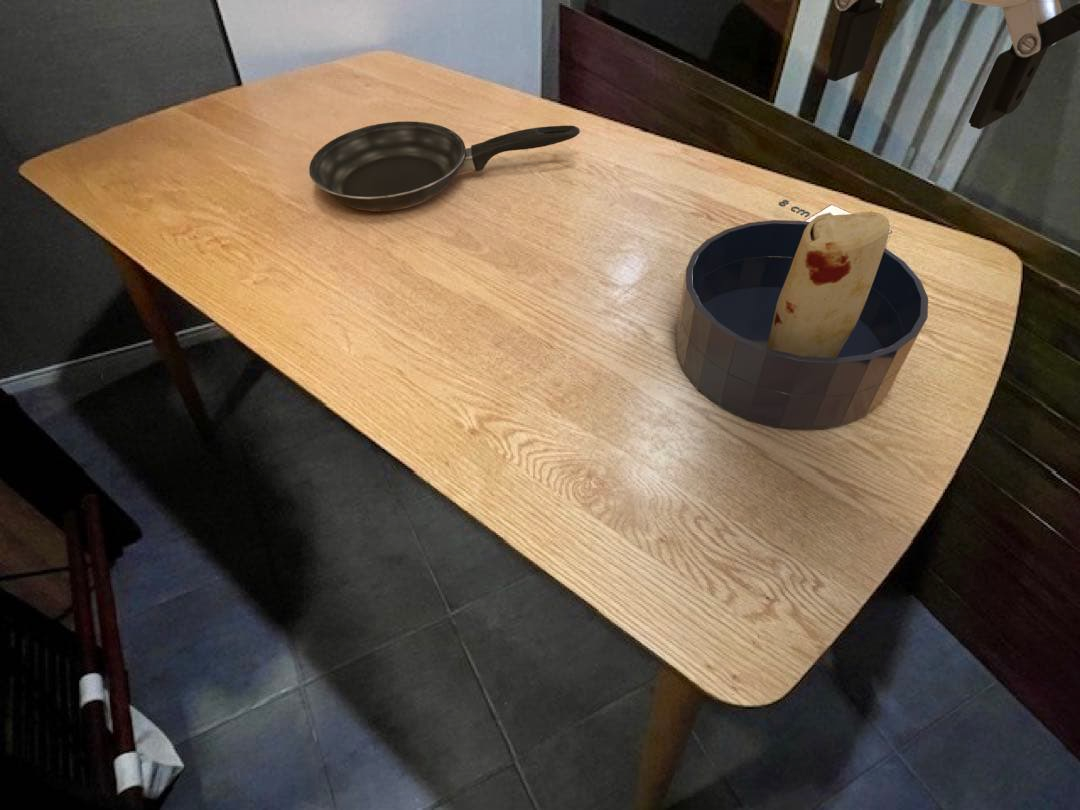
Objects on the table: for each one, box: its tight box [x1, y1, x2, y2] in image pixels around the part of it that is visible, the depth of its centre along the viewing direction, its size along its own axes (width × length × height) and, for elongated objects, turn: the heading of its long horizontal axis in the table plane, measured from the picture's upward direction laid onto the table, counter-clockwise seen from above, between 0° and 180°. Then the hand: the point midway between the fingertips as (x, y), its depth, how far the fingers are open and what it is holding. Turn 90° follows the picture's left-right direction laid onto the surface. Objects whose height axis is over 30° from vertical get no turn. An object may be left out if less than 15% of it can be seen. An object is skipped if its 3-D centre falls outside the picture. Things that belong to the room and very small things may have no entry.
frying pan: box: [308, 120, 581, 212], centre depth 104 cm, size 44×25×7 cm, turn 94°
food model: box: [767, 211, 891, 358], centre depth 64 cm, size 10×7×20 cm
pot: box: [675, 219, 929, 431], centre depth 72 cm, size 24×24×10 cm
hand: (910, 96), depth 40 cm, fingers open, 9 cm apart
